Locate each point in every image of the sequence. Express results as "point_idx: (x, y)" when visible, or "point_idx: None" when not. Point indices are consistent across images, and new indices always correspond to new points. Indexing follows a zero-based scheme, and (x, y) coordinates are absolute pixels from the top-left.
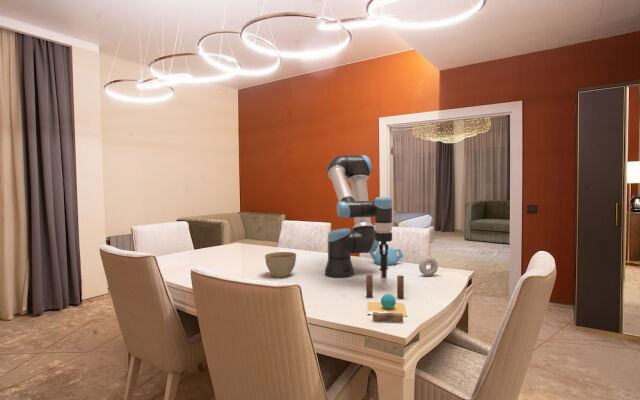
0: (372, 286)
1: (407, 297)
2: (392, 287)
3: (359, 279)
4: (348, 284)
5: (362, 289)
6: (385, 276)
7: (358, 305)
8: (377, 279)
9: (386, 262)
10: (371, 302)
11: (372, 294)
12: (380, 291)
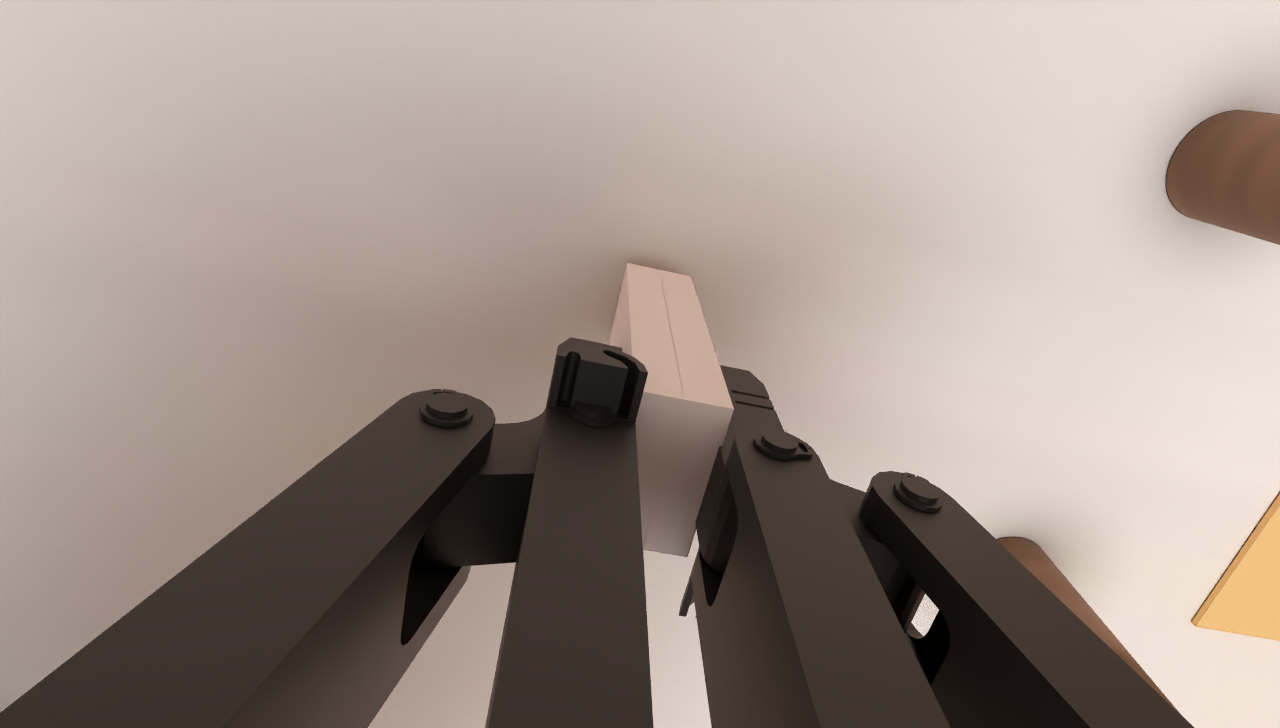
0: (1128, 657)
1: (1249, 29)
2: (596, 123)
3: (75, 555)
4: (384, 714)
5: (647, 595)
6: (763, 389)
7: (1235, 712)
8: (15, 268)
9: (1156, 712)
10: (1237, 594)
11: (1055, 569)
12: (794, 387)
